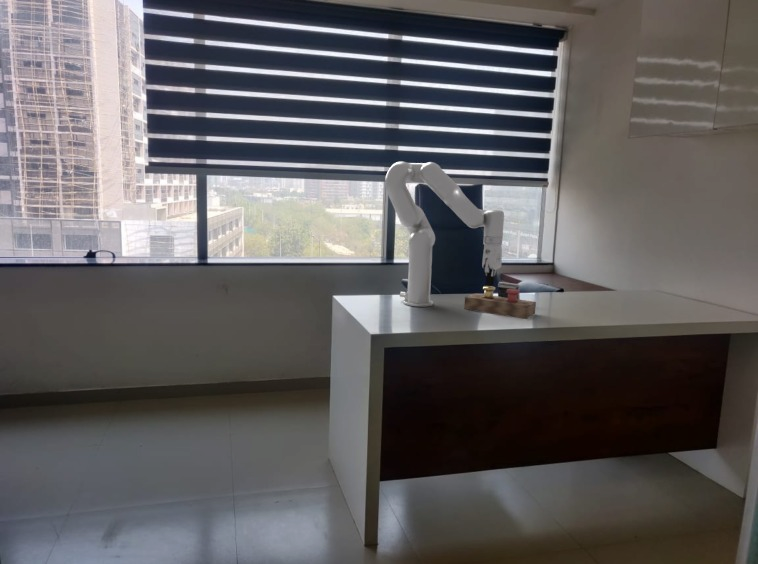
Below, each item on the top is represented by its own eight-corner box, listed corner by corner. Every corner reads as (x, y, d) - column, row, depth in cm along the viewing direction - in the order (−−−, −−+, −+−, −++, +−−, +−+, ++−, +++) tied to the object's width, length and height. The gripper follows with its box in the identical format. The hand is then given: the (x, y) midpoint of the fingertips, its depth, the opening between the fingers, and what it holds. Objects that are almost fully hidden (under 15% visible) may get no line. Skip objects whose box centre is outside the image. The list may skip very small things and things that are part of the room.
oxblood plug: (503, 305, 222) (504, 290, 221) (507, 303, 226) (509, 288, 225) (515, 307, 219) (517, 292, 218) (519, 305, 223) (521, 290, 222)
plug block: (464, 308, 228) (464, 296, 227) (474, 304, 237) (475, 293, 236) (526, 318, 214) (527, 306, 213) (534, 314, 223) (536, 301, 223)
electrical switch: (519, 304, 243) (520, 283, 241) (515, 307, 239) (516, 286, 237) (499, 301, 248) (500, 280, 246) (495, 303, 244) (495, 283, 242)
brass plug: (480, 302, 227) (481, 287, 226) (484, 300, 231) (485, 285, 230) (491, 303, 224) (492, 288, 223) (496, 301, 229) (497, 287, 227)
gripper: (495, 242, 215) (491, 289, 218) (508, 240, 228) (505, 284, 231) (476, 241, 219) (474, 287, 222) (490, 239, 232) (487, 282, 235)
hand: (489, 285), depth 227 cm, fingers closed
